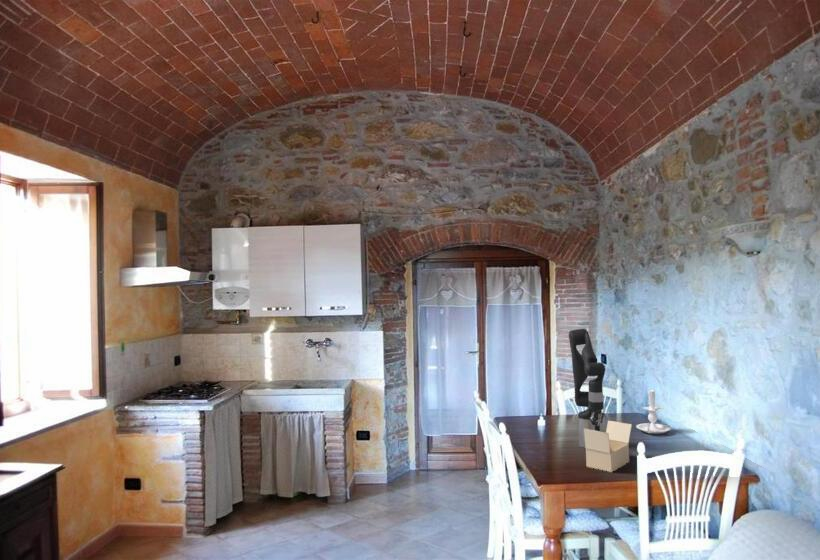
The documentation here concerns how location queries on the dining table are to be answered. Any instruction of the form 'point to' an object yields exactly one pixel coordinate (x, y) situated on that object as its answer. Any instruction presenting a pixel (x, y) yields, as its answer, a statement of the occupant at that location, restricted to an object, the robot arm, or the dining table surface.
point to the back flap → (619, 431)
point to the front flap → (597, 440)
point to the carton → (608, 457)
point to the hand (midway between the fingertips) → (597, 432)
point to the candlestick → (652, 418)
